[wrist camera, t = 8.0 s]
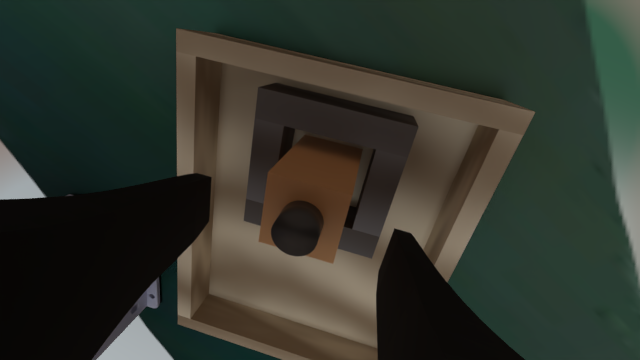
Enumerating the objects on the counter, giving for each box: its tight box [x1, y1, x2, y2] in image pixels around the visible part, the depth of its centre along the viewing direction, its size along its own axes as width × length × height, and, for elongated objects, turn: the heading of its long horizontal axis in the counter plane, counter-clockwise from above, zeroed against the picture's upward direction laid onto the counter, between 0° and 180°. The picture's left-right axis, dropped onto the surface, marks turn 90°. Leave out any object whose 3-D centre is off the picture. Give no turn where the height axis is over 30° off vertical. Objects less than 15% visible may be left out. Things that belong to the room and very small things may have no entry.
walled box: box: [176, 28, 535, 360], centre depth 19 cm, size 20×16×4 cm
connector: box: [258, 135, 363, 264], centre depth 14 cm, size 3×3×7 cm
